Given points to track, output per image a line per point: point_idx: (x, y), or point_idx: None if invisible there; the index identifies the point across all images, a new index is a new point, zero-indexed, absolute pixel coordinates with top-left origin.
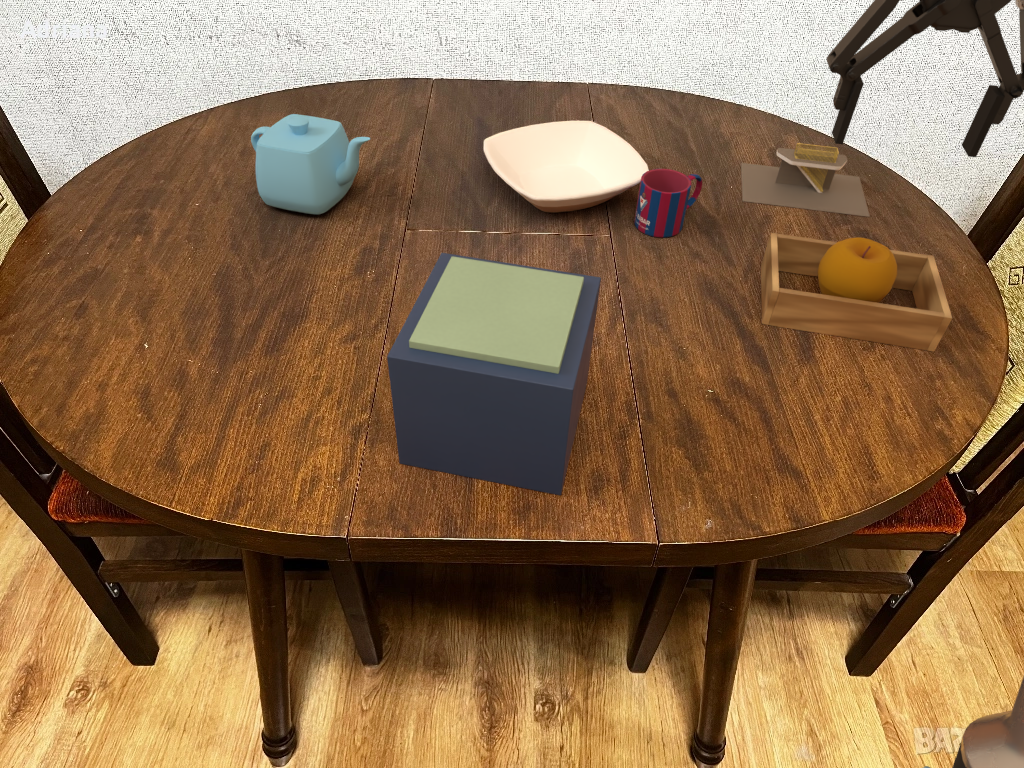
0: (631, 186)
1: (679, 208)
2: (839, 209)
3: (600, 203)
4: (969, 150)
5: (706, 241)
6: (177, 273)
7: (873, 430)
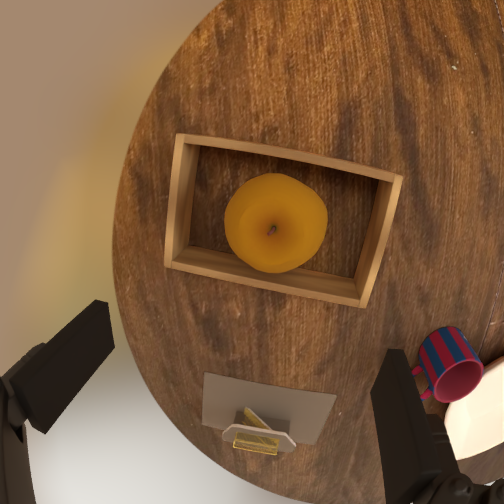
0: None
1: (446, 351)
2: (233, 383)
3: None
4: (103, 314)
5: (404, 325)
6: None
7: (299, 9)
